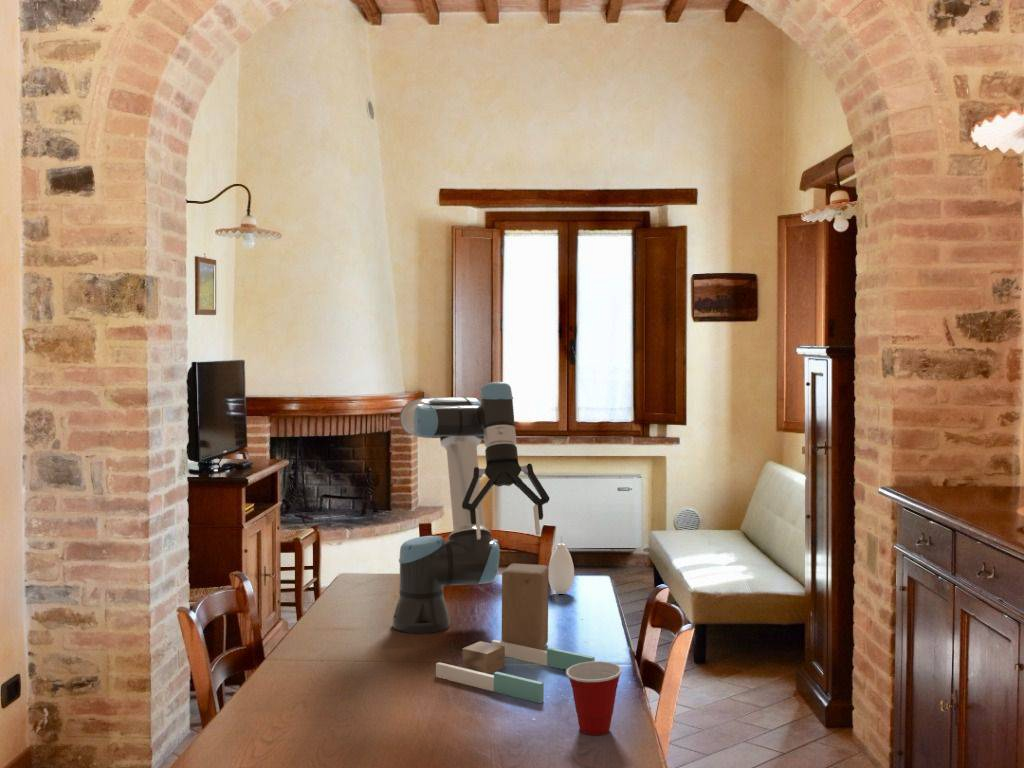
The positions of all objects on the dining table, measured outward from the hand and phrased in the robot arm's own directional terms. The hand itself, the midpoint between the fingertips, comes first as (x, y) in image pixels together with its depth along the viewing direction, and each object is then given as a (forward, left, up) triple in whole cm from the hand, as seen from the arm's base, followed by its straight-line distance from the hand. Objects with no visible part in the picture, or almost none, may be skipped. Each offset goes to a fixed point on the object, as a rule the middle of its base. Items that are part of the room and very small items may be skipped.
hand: (508, 536), depth 220 cm
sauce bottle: (-27, +67, -31) cm, 79 cm away
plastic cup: (+34, -19, -31) cm, 50 cm away
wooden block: (-6, +16, -31) cm, 36 cm away
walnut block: (-5, -2, -31) cm, 32 cm away
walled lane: (+3, -2, -31) cm, 31 cm away
